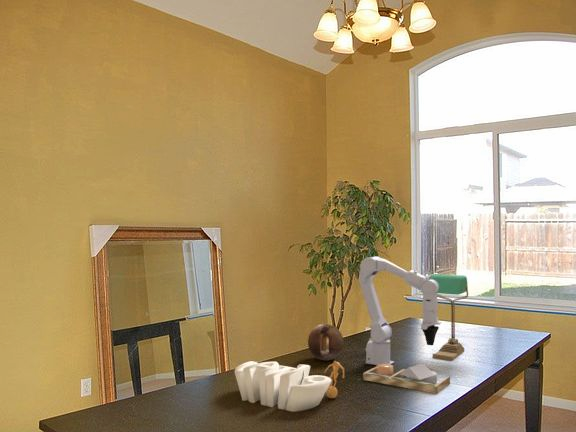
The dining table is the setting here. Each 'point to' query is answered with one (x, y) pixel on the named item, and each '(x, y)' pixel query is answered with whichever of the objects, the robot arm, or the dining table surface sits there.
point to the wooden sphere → (325, 342)
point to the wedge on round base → (421, 374)
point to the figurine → (331, 390)
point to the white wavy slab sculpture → (281, 385)
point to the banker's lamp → (456, 287)
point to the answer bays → (405, 381)
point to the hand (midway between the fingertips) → (430, 344)
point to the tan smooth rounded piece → (385, 369)
